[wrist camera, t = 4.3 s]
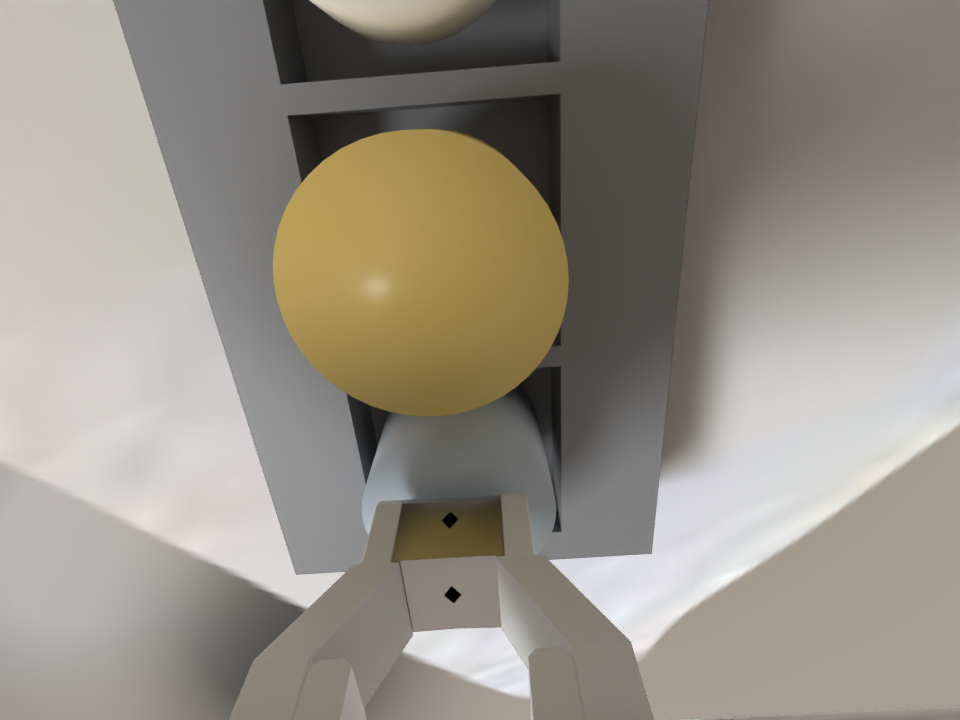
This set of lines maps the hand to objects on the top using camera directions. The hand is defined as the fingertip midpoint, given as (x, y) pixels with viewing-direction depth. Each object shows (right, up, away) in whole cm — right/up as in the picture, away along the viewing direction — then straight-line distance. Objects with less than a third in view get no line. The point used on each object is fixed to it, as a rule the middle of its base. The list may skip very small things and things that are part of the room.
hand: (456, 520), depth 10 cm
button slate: (0, +1, +3) cm, 4 cm away
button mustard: (0, +6, 0) cm, 6 cm away
